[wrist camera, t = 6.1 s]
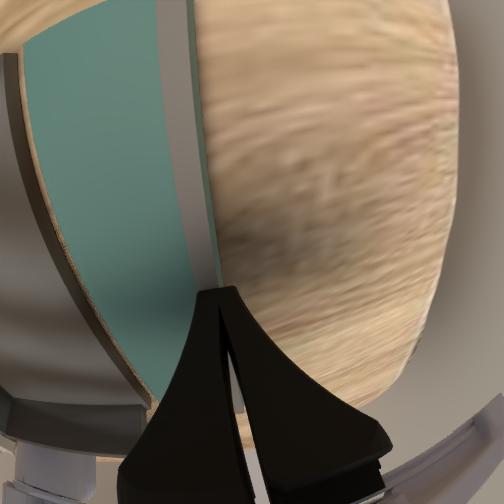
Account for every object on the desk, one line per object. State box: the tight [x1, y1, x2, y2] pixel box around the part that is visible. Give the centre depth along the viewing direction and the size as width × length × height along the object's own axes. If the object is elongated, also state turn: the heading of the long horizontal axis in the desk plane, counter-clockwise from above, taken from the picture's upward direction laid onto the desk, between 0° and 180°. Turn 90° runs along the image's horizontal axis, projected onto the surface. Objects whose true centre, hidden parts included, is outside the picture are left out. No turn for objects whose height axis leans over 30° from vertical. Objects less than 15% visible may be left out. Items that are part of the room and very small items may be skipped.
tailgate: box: [24, 0, 244, 414], centre depth 11 cm, size 22×1×6 cm
